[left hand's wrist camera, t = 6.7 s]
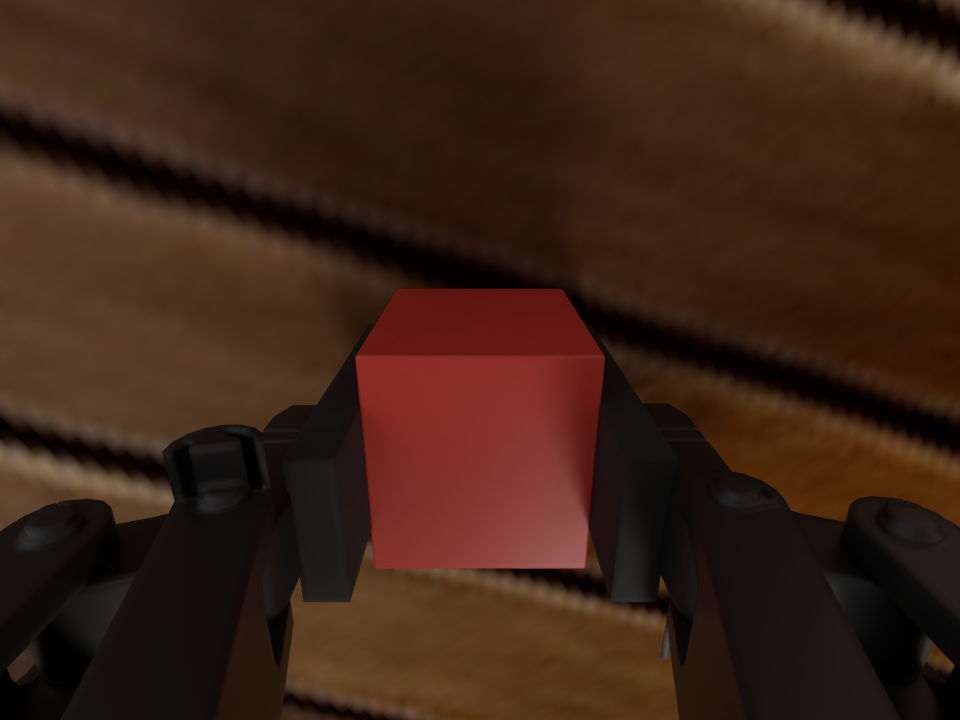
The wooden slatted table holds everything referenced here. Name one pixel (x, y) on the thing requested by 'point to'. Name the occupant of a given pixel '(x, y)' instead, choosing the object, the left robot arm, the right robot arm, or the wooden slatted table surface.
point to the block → (480, 429)
